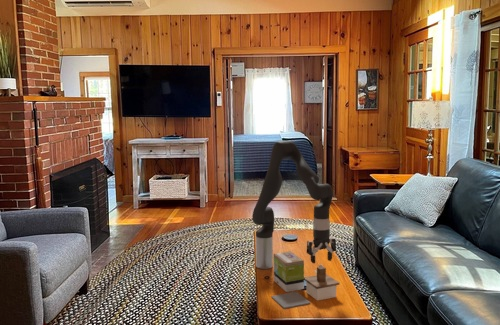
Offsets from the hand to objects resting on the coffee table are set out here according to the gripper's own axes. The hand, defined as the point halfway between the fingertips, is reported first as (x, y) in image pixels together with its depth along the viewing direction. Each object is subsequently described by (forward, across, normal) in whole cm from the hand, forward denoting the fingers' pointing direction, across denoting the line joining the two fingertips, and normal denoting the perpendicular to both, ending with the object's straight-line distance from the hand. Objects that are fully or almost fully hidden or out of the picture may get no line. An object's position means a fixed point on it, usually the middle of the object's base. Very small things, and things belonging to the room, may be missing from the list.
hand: (321, 261), depth 204 cm
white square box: (+16, 0, 0) cm, 16 cm away
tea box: (+16, +9, -16) cm, 25 cm away
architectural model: (+16, -10, -17) cm, 26 cm away
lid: (+10, 0, 0) cm, 10 cm away
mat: (+16, +16, 0) cm, 23 cm away
